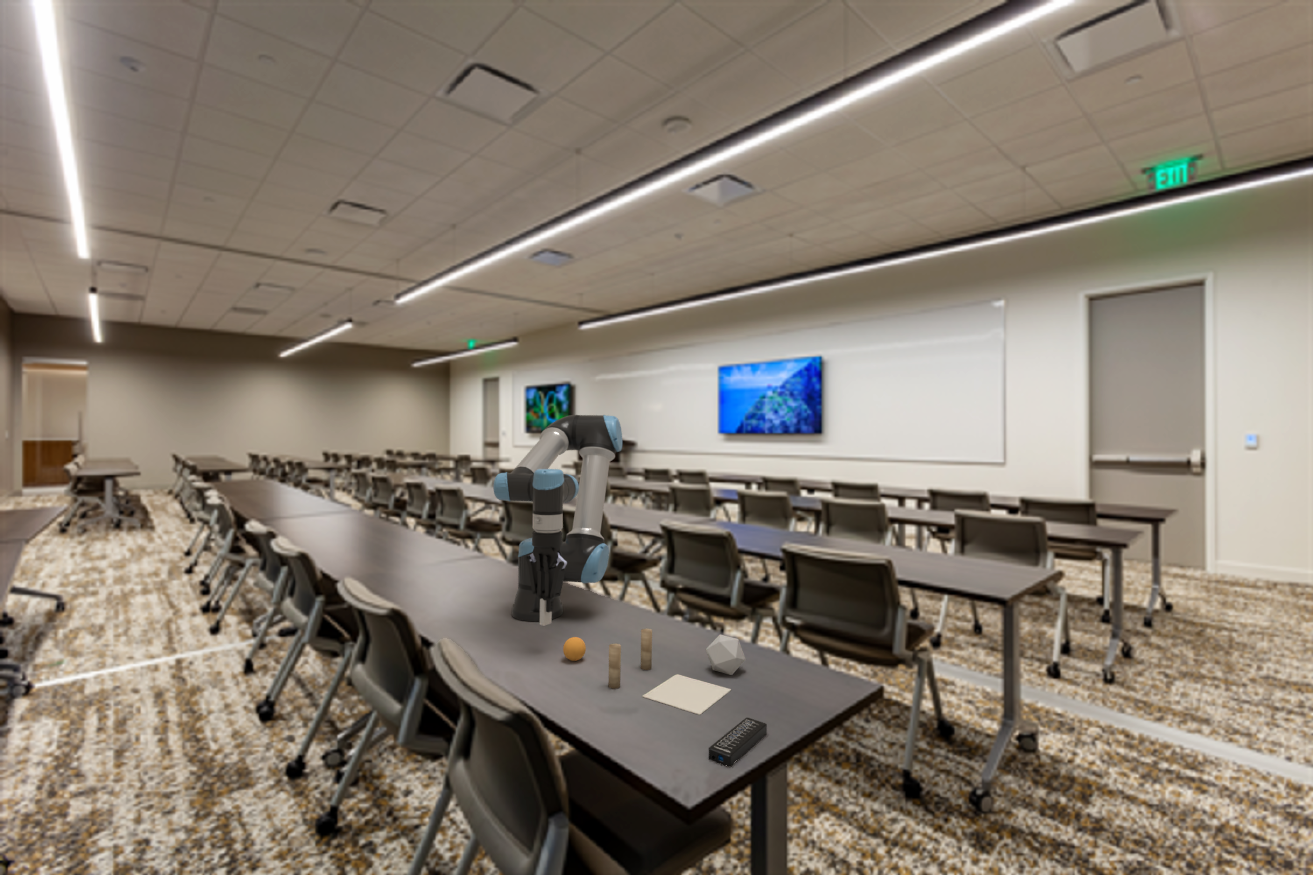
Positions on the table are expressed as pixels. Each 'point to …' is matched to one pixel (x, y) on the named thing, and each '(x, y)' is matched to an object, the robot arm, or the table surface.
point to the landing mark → (687, 694)
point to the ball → (574, 648)
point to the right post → (646, 649)
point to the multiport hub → (737, 741)
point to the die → (725, 654)
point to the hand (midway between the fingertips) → (545, 623)
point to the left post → (614, 665)
